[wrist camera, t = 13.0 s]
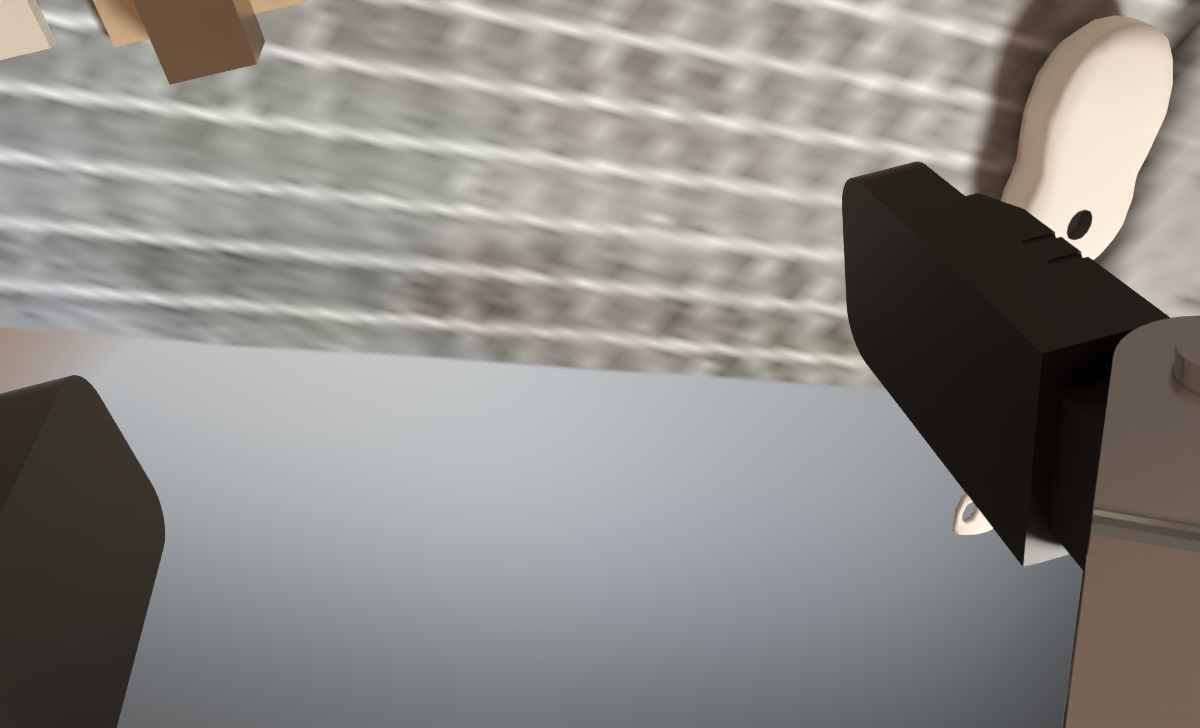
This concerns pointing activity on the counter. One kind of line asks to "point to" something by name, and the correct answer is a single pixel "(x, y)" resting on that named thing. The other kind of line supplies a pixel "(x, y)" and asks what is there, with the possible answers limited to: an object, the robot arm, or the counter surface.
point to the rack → (23, 28)
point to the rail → (201, 35)
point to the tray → (129, 27)
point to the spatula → (1087, 141)
